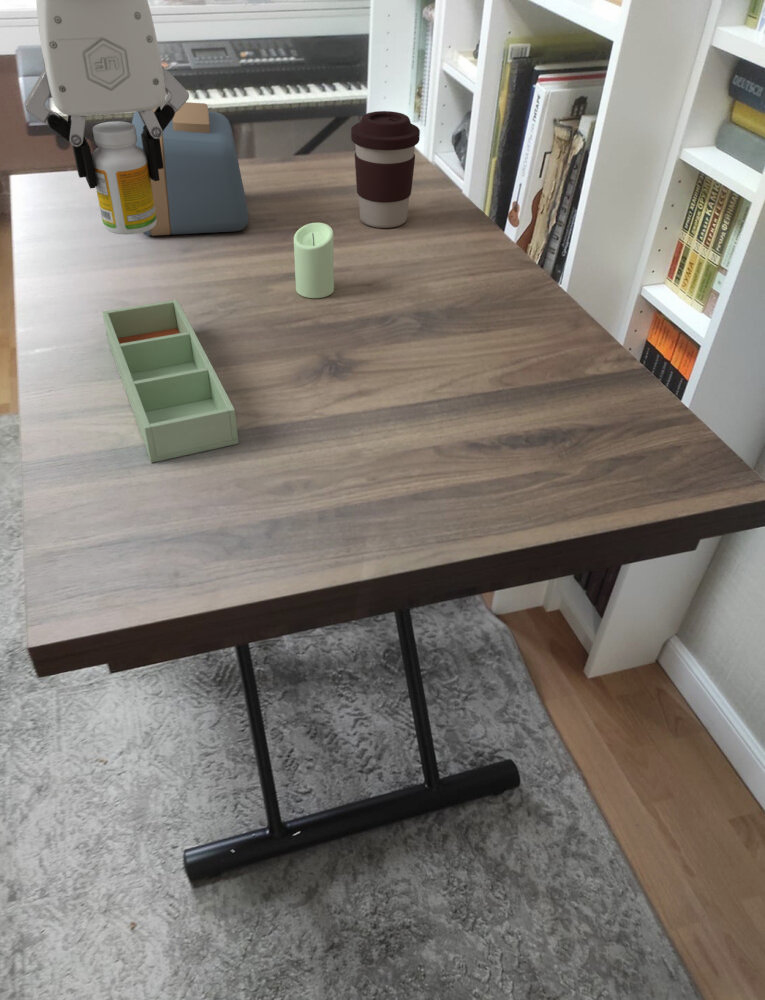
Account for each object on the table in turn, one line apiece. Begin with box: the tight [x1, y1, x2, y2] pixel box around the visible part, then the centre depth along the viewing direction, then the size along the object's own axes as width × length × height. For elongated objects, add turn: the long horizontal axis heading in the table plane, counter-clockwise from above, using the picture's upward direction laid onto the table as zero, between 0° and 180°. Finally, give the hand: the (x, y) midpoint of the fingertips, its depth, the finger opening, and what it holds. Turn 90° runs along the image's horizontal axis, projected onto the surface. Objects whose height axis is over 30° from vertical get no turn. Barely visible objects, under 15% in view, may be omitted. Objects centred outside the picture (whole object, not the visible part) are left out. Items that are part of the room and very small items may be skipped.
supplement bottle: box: [91, 120, 157, 236], centre depth 83 cm, size 5×5×10 cm
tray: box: [101, 299, 239, 464], centre depth 89 cm, size 9×25×4 cm, turn 23°
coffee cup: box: [350, 110, 421, 229], centre depth 124 cm, size 10×10×15 cm
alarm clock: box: [131, 101, 250, 237], centre depth 123 cm, size 16×16×16 cm
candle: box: [293, 222, 335, 299], centre depth 107 cm, size 5×5×8 cm
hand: (122, 178), depth 83 cm, fingers closed on supplement bottle, 5 cm apart
